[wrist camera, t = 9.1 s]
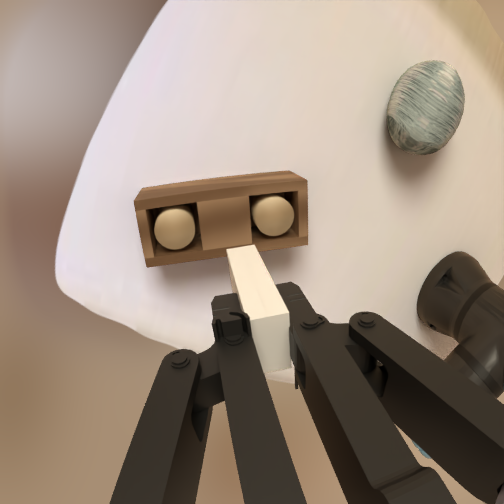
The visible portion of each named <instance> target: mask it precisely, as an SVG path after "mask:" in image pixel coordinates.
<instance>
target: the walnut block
mask: <svg viewBox="0 0 504 504" xmlns="http://www.w3.org/2000/svg"><path fill="white" fill-rule="evenodd" d="M269 193H278V194H279V195H280V196H281V197H283V198H284V199H285V200H286V201H287V202H288V203H289V204H290V205H291V206H292V208H293V211H294V220H293V223H292V225H291V227H290V228H289V229H288V230H287V231H286V232H285V233H283V234H281V235H278V236H269V235H266V234H264V233H262V232H261V231H260V230H259V228H258V227H257V225H256V224H255V222H254V221H253V219H252V218H251V216H250V207H249V196H251V195H260V194H269ZM187 203H189V204H190V205H191V207H192V209H193V212H194V223H195V234H194V237H193V239H192V241H191V242H190V243H189V244H188V245H187V246H185V247H184V248H181V249H169V248H166V247H164V246H162V245H161V244H160V243H159V242H158V240H157V239H156V236H155V232H154V228H155V223H156V220H157V216H158V213H159V210H160V208H161V207H166V206H173V205H180V204H187ZM134 206H135V212H136V217H137V222H138V228H139V233H140V238H141V243H142V248H143V253H144V257H145V262H146V266H147V267H154V266H161V265H168V264H175V263H183V262H190V261H197V260H204V259H211V258H218V257H225V256H227V251H226V249H231V248H237V247H243V246H249V245H255V247H256V249H257V251H258V252H261V251H268V250H275V249H282V248H289V247H296V246H303V245H308V189H307V180H306V179H304V178H302V177H300V176H299V175H297V174H295V173H293V172H291V171H278V172H267V173H256V174H246V175H236V176H227V177H219V178H210V179H202V180H195V181H187V182H180V183H173V184H166V185H159V186H153V187H146V188H142V189H141V191H140V192H139V194H138V195H137V197H136V198H135V200H134Z"/></svg>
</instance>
